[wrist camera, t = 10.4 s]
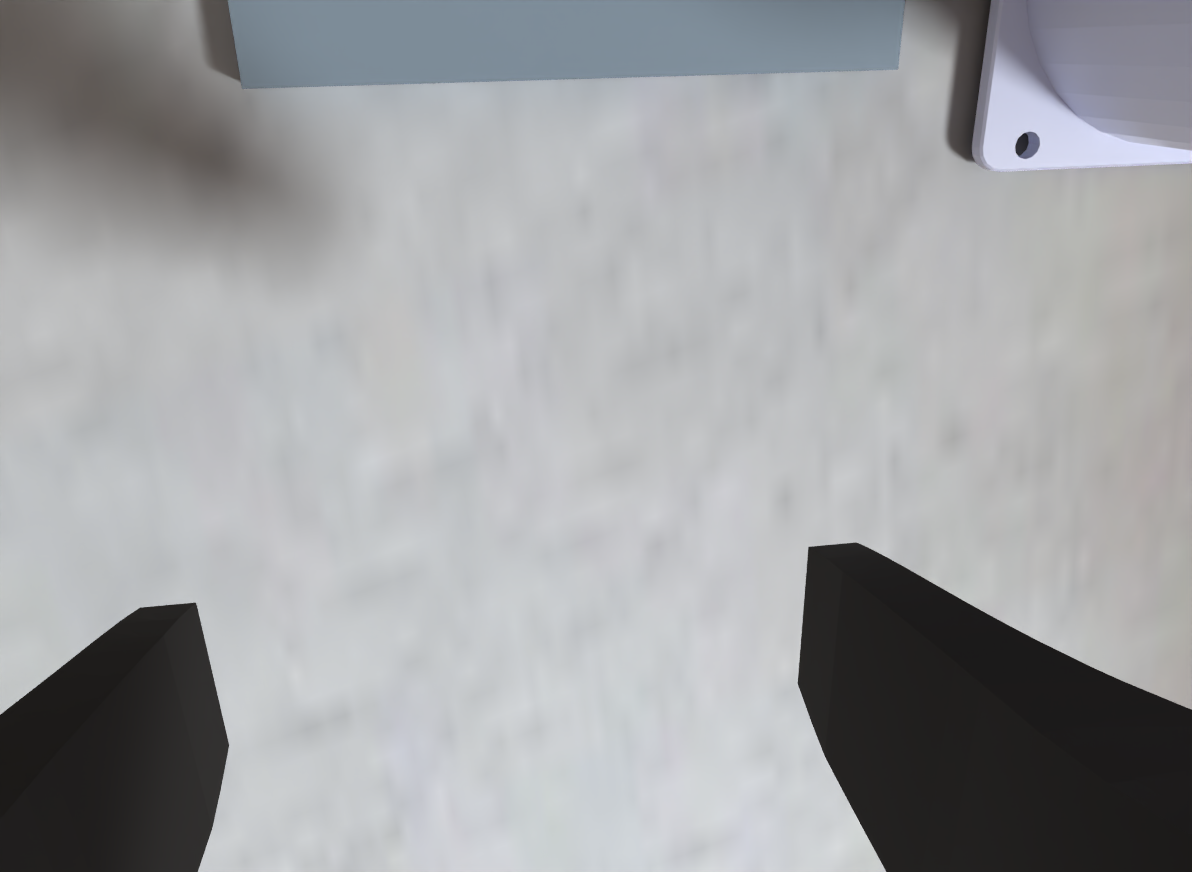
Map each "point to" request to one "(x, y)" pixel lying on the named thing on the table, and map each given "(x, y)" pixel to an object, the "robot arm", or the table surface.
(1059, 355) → the table surface
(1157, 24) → the robot arm
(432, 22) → the dock
